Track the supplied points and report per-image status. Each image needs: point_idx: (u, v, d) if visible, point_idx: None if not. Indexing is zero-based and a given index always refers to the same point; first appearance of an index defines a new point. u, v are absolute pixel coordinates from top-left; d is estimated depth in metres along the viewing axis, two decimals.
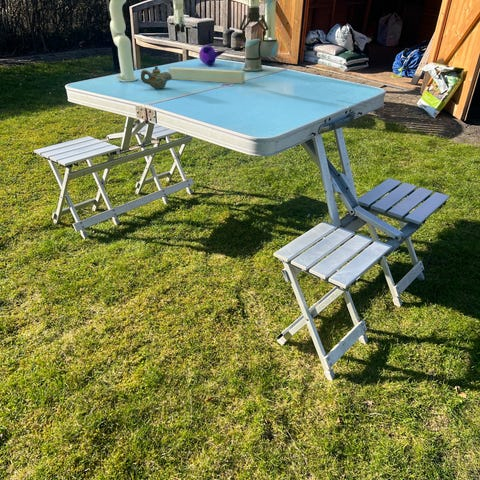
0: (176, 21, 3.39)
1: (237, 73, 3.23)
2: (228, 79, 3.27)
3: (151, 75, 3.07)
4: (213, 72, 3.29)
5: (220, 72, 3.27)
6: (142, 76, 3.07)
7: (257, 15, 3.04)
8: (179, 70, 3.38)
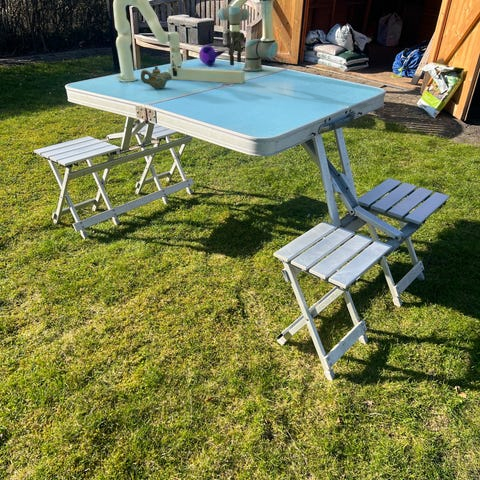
0: (180, 63, 3.39)
1: (237, 73, 3.23)
2: (228, 79, 3.27)
3: (151, 75, 3.07)
4: (213, 72, 3.29)
5: (220, 72, 3.27)
6: (142, 76, 3.07)
7: (238, 39, 3.16)
8: (179, 70, 3.38)
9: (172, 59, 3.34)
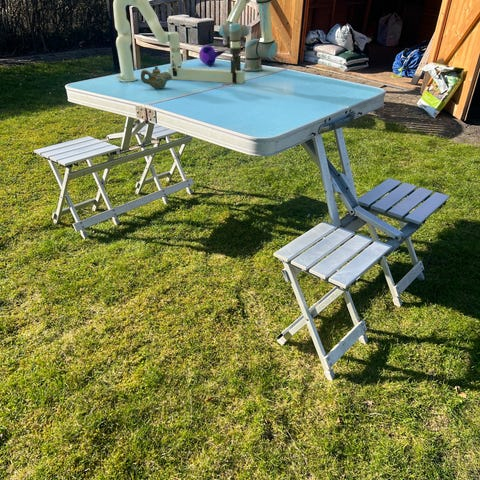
0: (180, 63, 3.39)
1: (237, 73, 3.23)
2: (228, 79, 3.27)
3: (151, 75, 3.07)
4: (213, 72, 3.29)
5: (220, 72, 3.27)
6: (142, 76, 3.07)
7: (238, 54, 3.22)
8: (179, 70, 3.38)
9: (172, 59, 3.34)
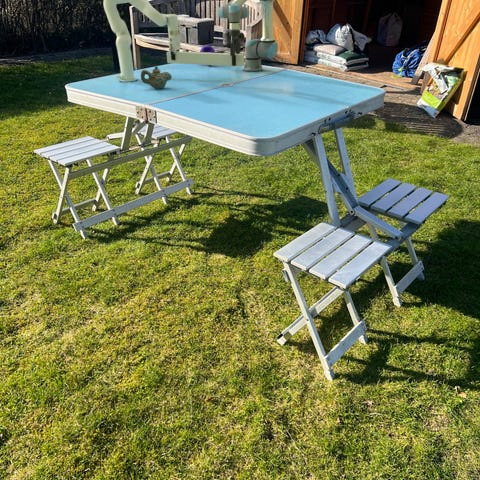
0: (178, 47, 3.33)
1: (237, 56, 3.17)
2: (227, 62, 3.22)
3: (151, 75, 3.07)
4: (212, 55, 3.23)
5: (219, 55, 3.21)
6: (142, 76, 3.07)
7: None
8: (177, 54, 3.32)
9: (170, 42, 3.28)
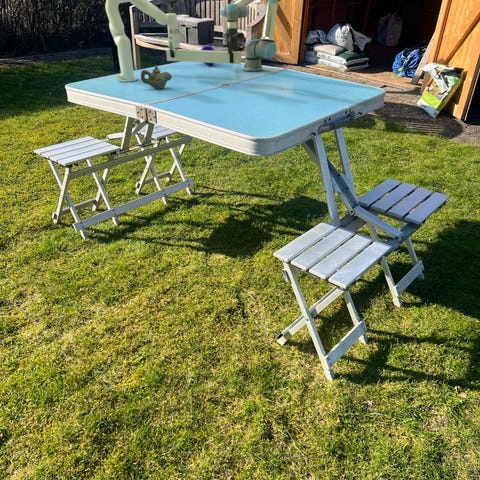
0: (177, 45, 3.44)
1: (234, 53, 3.28)
2: (225, 60, 3.32)
3: (151, 75, 3.07)
4: (210, 53, 3.34)
5: (217, 53, 3.32)
6: (142, 76, 3.07)
7: (235, 35, 3.27)
8: (177, 51, 3.43)
9: (170, 40, 3.38)
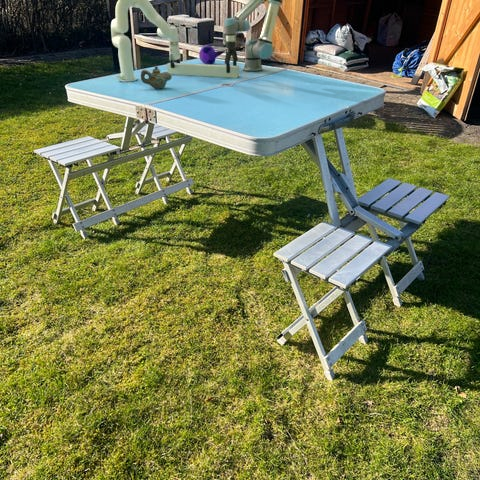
0: (178, 57, 3.57)
1: (232, 68, 3.41)
2: (223, 74, 3.46)
3: (151, 75, 3.07)
4: (209, 67, 3.47)
5: (216, 67, 3.45)
6: (142, 76, 3.07)
7: (233, 48, 3.39)
8: (177, 65, 3.56)
9: (171, 52, 3.51)
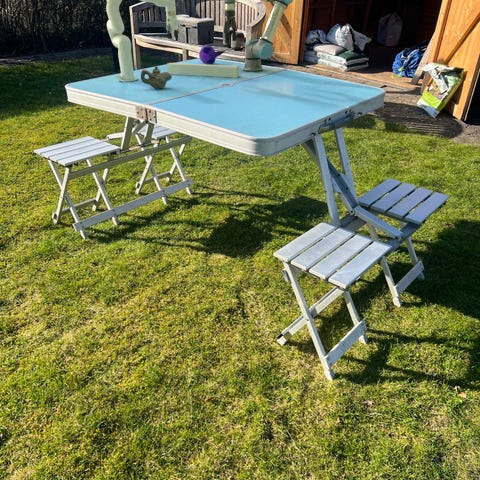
0: (176, 27, 3.46)
1: (232, 68, 3.41)
2: (223, 74, 3.46)
3: (151, 75, 3.07)
4: (209, 67, 3.47)
5: (216, 67, 3.45)
6: (142, 76, 3.07)
7: (232, 17, 3.29)
8: (177, 65, 3.56)
9: (168, 22, 3.41)
